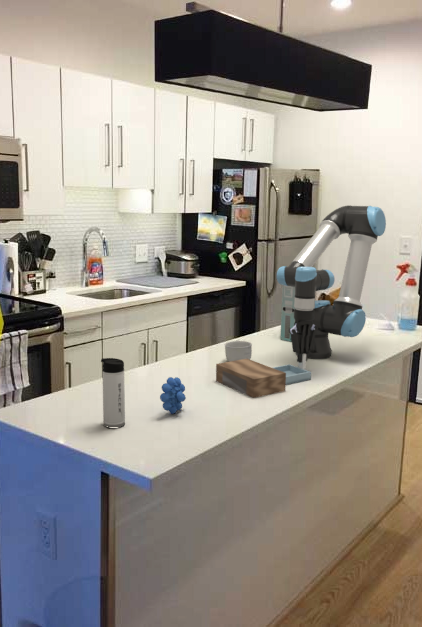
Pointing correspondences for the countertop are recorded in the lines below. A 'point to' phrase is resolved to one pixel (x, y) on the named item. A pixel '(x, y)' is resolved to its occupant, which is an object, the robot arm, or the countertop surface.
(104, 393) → the travel mug
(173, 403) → the grapes
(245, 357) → the teacup
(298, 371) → the tray
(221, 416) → the countertop surface
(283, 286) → the device
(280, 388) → the shelf
